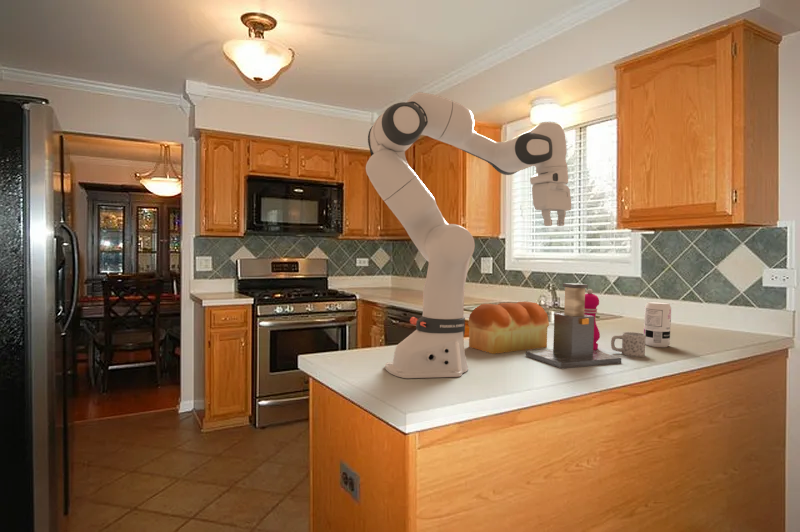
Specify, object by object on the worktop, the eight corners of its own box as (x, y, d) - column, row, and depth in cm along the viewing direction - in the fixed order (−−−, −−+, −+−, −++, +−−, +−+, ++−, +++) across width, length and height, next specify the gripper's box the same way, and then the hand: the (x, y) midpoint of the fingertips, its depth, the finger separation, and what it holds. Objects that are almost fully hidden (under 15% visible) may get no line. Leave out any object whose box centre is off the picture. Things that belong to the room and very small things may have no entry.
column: (571, 355, 145) (574, 284, 144) (560, 352, 150) (562, 283, 149) (585, 354, 147) (587, 284, 146) (573, 351, 152) (575, 283, 151)
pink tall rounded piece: (601, 351, 162) (603, 290, 161) (578, 349, 163) (580, 289, 162) (597, 346, 169) (599, 288, 168) (574, 345, 170) (577, 287, 169)
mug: (642, 353, 160) (643, 332, 160) (646, 357, 153) (647, 336, 153) (609, 350, 162) (609, 330, 162) (612, 355, 156) (613, 334, 156)
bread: (521, 341, 177) (522, 300, 177) (548, 347, 167) (549, 303, 166) (467, 347, 164) (468, 303, 164) (493, 354, 154) (494, 307, 153)
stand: (561, 368, 137) (562, 320, 136) (525, 356, 152) (527, 312, 151) (621, 362, 145) (623, 317, 145) (582, 351, 160) (583, 310, 159)
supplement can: (639, 342, 178) (641, 301, 177) (662, 343, 178) (664, 301, 177) (649, 347, 170) (651, 303, 169) (674, 347, 169) (676, 304, 169)
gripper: (555, 182, 155) (557, 226, 155) (527, 177, 139) (530, 226, 139) (575, 179, 151) (577, 225, 151) (548, 174, 135) (551, 224, 135)
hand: (554, 225), depth 145 cm, fingers open, 8 cm apart
